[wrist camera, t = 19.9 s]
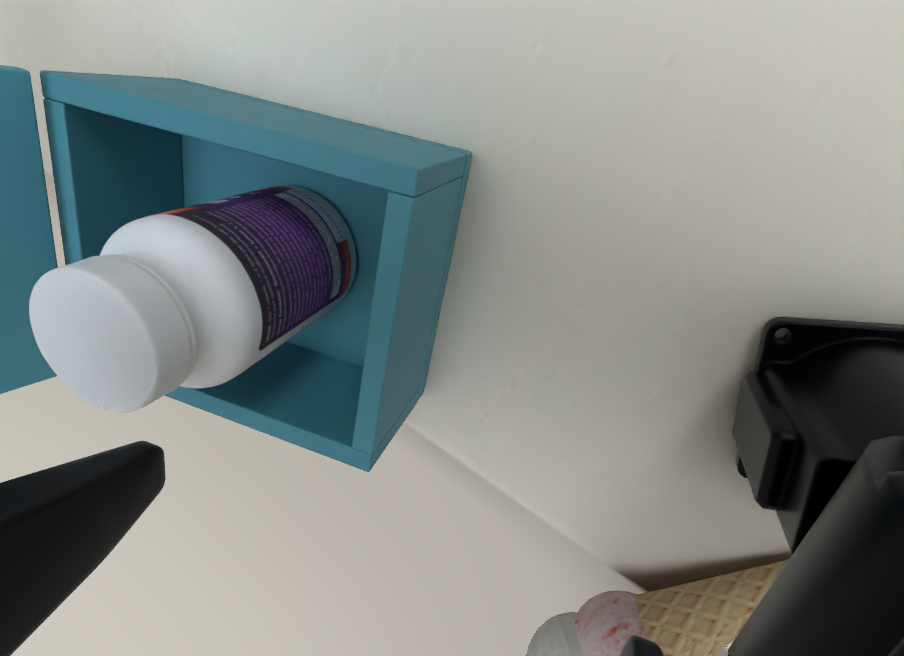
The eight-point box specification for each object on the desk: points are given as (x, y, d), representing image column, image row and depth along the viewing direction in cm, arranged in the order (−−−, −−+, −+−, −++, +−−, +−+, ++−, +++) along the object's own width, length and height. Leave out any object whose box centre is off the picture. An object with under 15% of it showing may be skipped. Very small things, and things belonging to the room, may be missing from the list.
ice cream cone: (802, 468, 21) (494, 625, 24) (903, 582, 17) (522, 749, 21) (822, 514, 24) (542, 650, 27) (914, 623, 20) (575, 764, 23)
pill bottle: (280, 153, 20) (31, 188, 12) (385, 247, 21) (216, 349, 12) (224, 253, 23) (-15, 342, 14) (317, 335, 23) (138, 472, 14)
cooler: (473, 151, 19) (419, 168, 14) (423, 393, 24) (369, 473, 18) (178, 78, 21) (38, 69, 16) (185, 312, 26) (78, 363, 21)
